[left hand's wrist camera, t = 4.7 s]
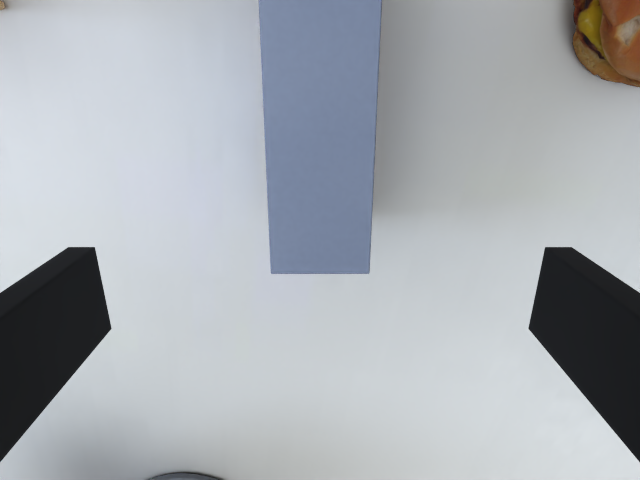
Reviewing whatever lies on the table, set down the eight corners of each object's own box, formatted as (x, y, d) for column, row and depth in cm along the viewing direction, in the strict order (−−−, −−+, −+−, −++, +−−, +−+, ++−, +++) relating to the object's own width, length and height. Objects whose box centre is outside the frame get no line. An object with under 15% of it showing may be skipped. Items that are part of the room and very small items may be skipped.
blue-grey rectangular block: (277, -24, 27) (254, -82, 17) (361, -24, 27) (385, -82, 17) (285, 216, 33) (270, 274, 23) (354, 216, 33) (369, 274, 23)
